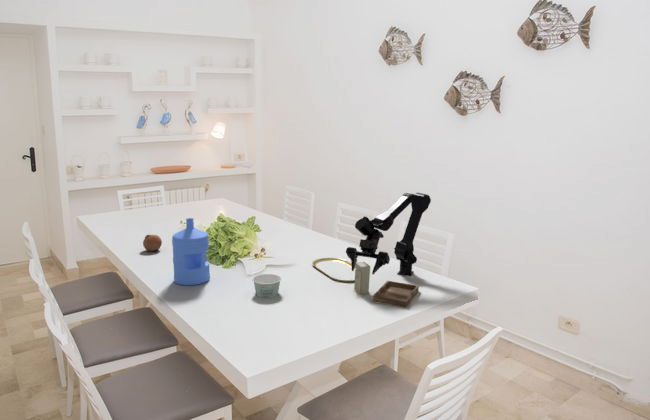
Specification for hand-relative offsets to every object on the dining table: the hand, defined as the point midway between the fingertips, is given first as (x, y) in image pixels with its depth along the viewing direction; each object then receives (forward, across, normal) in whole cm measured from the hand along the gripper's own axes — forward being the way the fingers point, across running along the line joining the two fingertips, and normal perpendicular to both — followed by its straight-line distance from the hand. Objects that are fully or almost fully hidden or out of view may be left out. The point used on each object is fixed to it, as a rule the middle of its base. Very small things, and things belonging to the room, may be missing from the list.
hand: (362, 272), depth 215 cm
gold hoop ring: (-8, -19, +21) cm, 29 cm away
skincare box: (+6, 0, +6) cm, 8 cm away
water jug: (+22, -73, -9) cm, 76 cm away
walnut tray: (+5, +15, +6) cm, 17 cm away
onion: (+3, -120, +10) cm, 120 cm away
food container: (+21, -35, -8) cm, 41 cm away
